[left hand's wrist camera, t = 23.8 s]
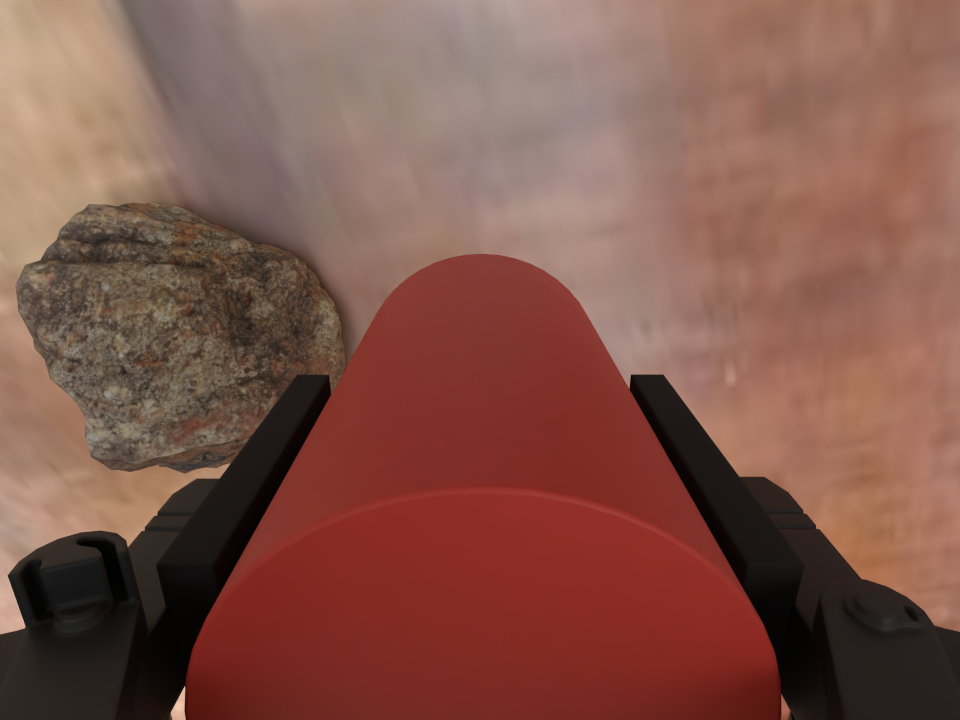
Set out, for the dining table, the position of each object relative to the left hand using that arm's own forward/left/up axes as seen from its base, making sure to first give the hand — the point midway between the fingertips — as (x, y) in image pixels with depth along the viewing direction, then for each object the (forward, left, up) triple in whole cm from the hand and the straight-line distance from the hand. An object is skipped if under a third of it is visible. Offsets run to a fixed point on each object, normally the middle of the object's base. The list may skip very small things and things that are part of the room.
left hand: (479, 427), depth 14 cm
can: (0, 0, -4) cm, 4 cm away
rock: (+12, -1, -16) cm, 20 cm away
